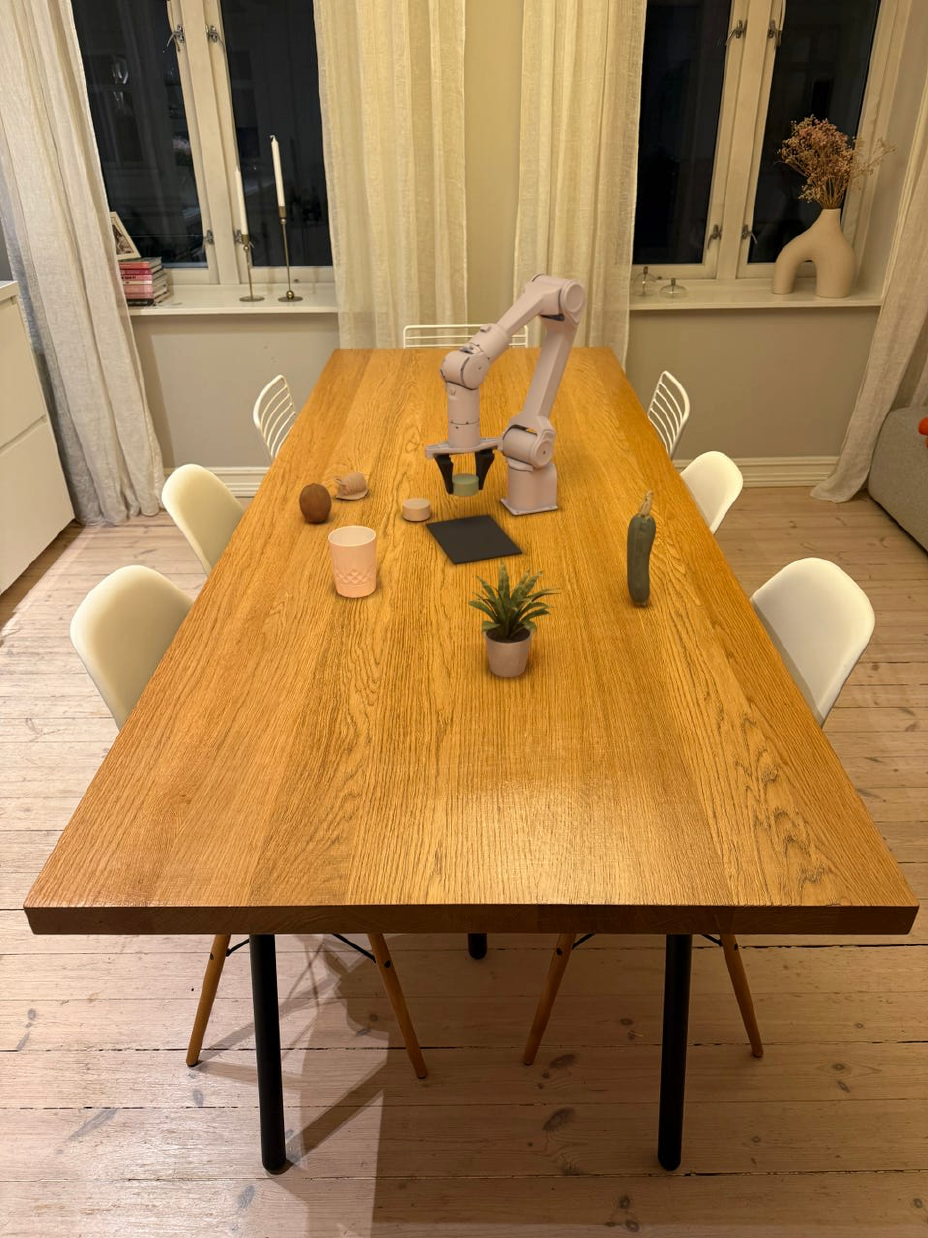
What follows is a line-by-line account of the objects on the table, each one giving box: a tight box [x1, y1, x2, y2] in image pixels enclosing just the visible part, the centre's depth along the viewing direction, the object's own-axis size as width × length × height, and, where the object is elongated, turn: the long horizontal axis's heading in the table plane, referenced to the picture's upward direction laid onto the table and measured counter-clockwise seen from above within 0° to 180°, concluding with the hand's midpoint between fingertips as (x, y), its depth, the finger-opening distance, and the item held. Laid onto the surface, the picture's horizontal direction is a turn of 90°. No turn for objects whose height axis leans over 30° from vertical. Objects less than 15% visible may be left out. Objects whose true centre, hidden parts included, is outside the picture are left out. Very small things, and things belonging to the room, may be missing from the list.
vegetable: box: [626, 488, 657, 607], centre depth 152 cm, size 4×4×20 cm
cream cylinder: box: [401, 497, 431, 522], centre depth 188 cm, size 5×5×3 cm
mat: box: [425, 513, 523, 565], centre depth 180 cm, size 13×18×1 cm
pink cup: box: [327, 525, 377, 599], centre depth 161 cm, size 8×8×10 cm
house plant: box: [467, 560, 563, 678], centre depth 136 cm, size 14×14×16 cm
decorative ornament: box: [333, 471, 369, 501], centre depth 197 cm, size 4×8×5 cm, turn 129°
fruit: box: [298, 482, 332, 523], centre depth 186 cm, size 6×6×8 cm
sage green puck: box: [451, 472, 480, 498], centre depth 179 cm, size 5×5×3 cm
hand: (464, 490), depth 179 cm, fingers closed on sage green puck, 5 cm apart
